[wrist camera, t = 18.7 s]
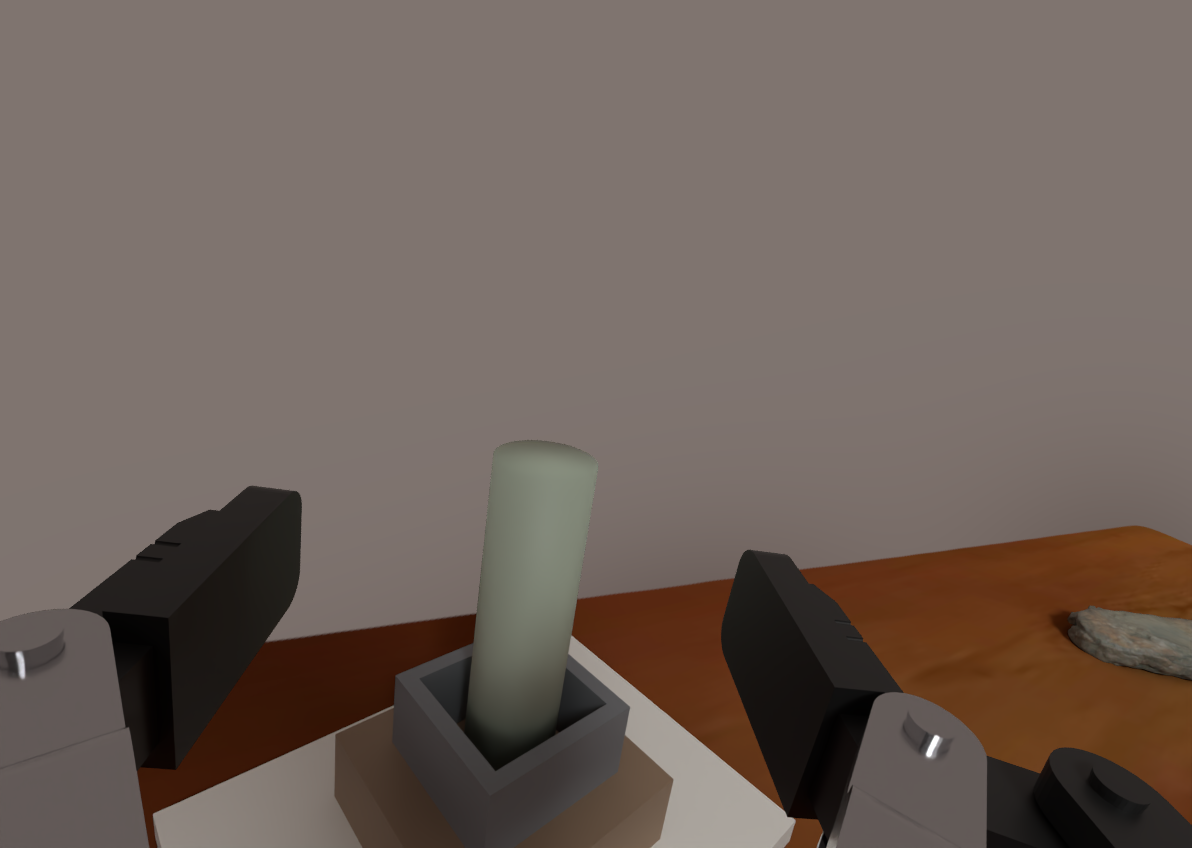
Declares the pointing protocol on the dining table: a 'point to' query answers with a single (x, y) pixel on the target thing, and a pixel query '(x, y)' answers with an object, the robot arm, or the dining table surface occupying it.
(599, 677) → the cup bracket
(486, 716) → the green dowel
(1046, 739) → the dining table surface
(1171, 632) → the elongated rock
